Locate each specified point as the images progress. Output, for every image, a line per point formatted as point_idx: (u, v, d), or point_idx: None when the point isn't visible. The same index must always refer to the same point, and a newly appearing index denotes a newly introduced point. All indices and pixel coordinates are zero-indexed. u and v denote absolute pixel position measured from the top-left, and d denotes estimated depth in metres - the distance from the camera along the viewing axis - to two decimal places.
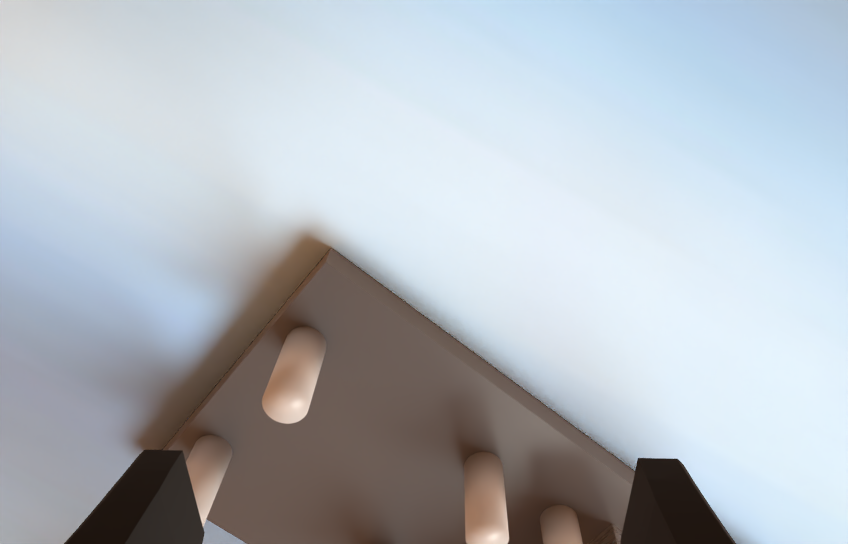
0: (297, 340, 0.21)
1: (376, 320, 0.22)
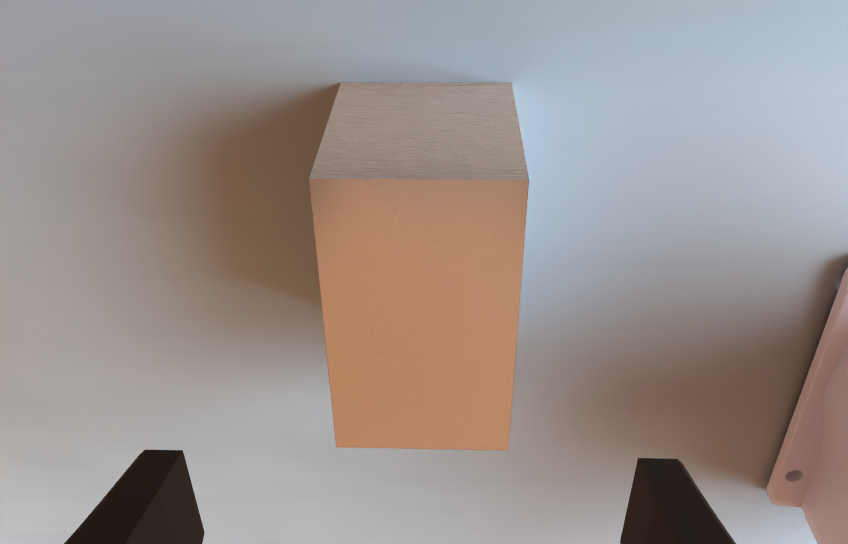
0: None
1: None
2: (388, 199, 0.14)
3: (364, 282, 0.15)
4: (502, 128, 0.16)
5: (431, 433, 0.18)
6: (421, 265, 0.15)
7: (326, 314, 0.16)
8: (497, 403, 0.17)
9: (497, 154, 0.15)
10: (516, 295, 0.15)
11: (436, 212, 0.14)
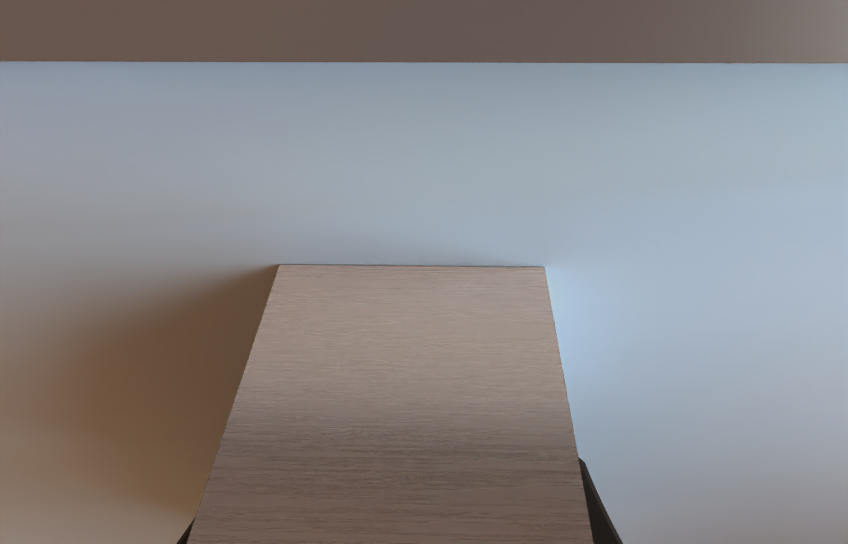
0: None
1: None
2: None
3: None
4: (536, 393, 0.09)
5: None
6: None
7: None
8: None
9: (532, 472, 0.08)
10: None
11: None
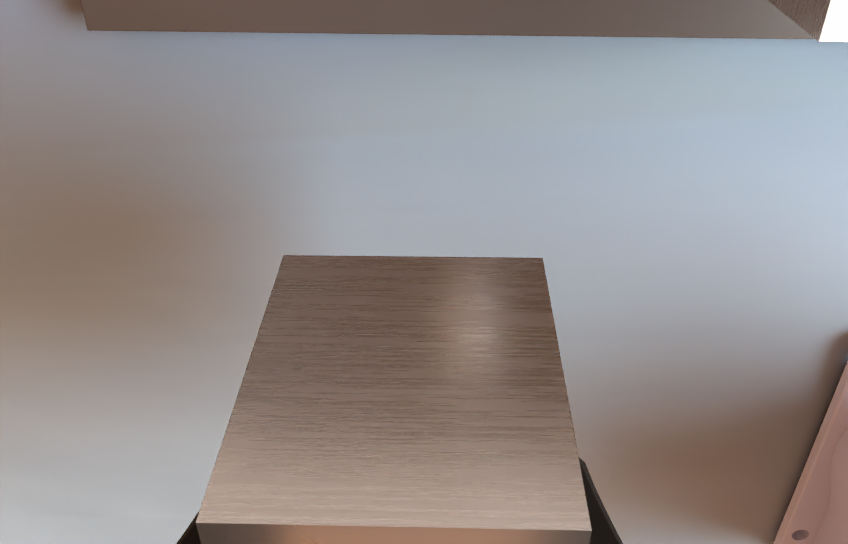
0: None
1: None
2: None
3: None
4: (533, 377, 0.10)
5: None
6: None
7: None
8: None
9: (530, 452, 0.09)
10: None
11: None
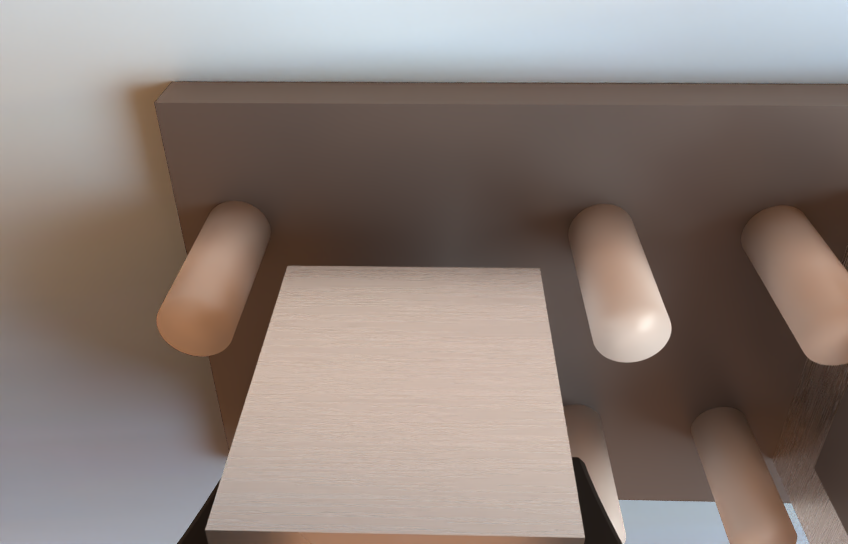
0: (201, 230, 0.14)
1: (285, 133, 0.13)
2: None
3: None
4: (531, 386, 0.10)
5: None
6: None
7: None
8: None
9: (527, 461, 0.09)
10: None
11: None
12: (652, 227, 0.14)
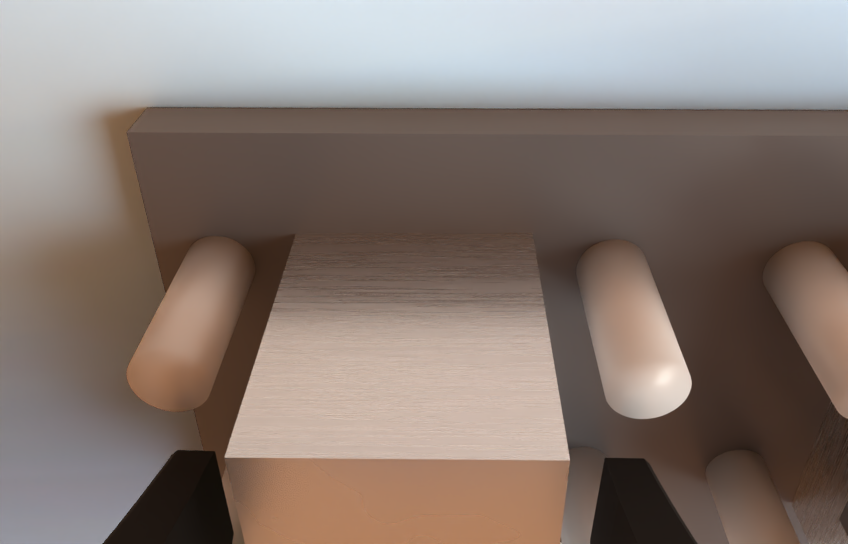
0: (179, 269, 0.13)
1: (269, 164, 0.12)
2: (350, 483, 0.09)
3: None
4: (522, 335, 0.11)
5: None
6: None
7: None
8: None
9: (517, 397, 0.10)
10: None
11: (425, 498, 0.09)
12: (667, 264, 0.13)
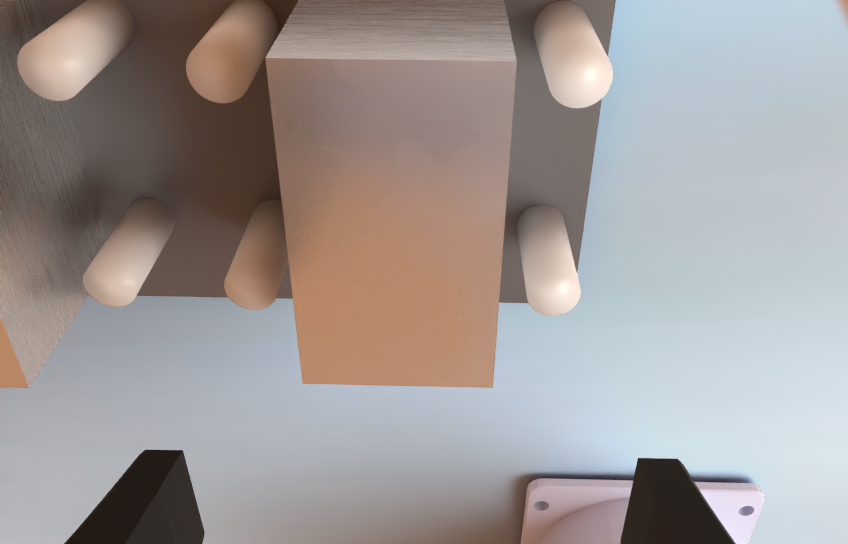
0: None
1: None
2: None
3: None
4: None
5: None
6: None
7: None
8: None
9: None
10: None
11: None
12: (149, 18, 0.17)
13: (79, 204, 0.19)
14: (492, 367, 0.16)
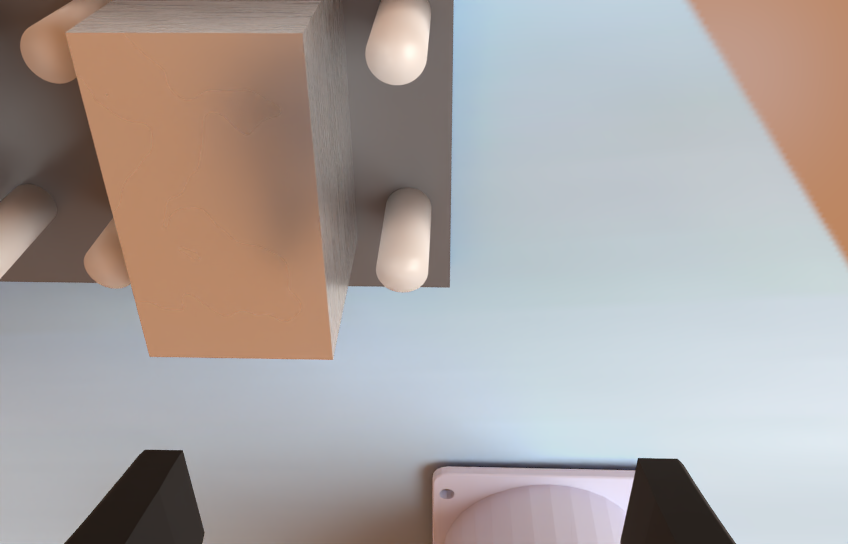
0: None
1: None
2: None
3: None
4: None
5: None
6: None
7: None
8: None
9: None
10: None
11: None
12: (11, 8, 0.18)
13: None
14: (329, 339, 0.16)
